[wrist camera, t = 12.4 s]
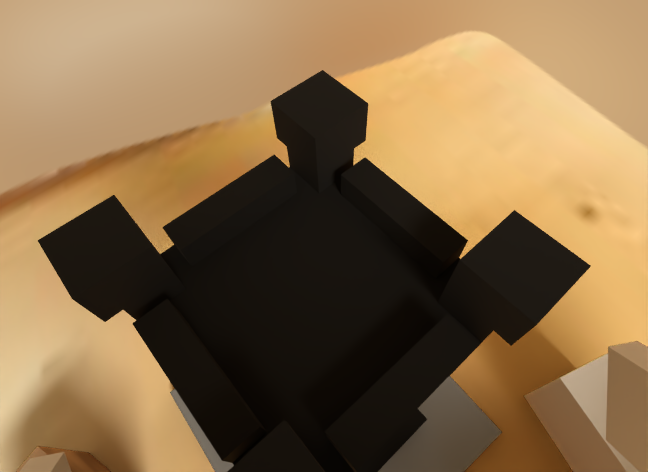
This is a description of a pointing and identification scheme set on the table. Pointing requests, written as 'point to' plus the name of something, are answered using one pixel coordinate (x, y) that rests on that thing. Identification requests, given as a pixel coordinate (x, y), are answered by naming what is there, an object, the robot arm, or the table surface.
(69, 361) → the table surface
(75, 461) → the walnut cube
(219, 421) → the chess piece
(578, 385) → the grey plastic box
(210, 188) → the table surface
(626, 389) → the robot arm
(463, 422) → the felt mat
